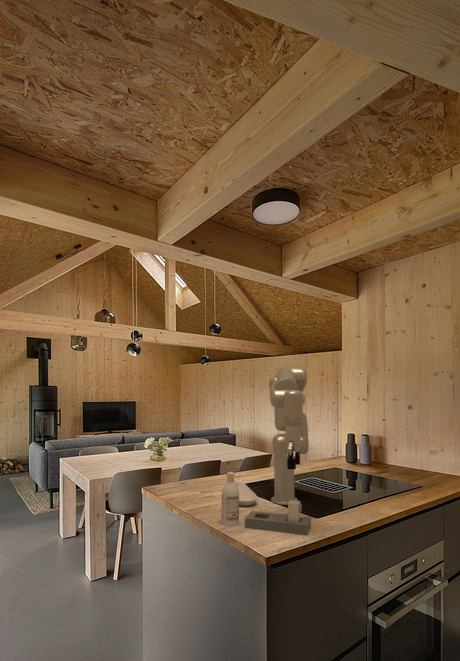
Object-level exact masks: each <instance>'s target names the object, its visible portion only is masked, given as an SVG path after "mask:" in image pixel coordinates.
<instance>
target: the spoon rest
mask: <svg viewBox="0 0 460 661" xmlns="http://www.w3.org/2000/svg"><path fill="white" fill-rule="evenodd" d="M236 486H237V488H238V491H239V507H240V506H241V507H250V506H253V505H254V504H255V503H256V502H257V500H258V496H257V494H256V493H255V492H254V491H253V490H252V489H251V488H250V487H249V486H248V485H247V484H246V483H245V482H241V483H239V482H237V483H236Z"/></svg>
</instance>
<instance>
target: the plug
mask: <svg viewBox="0 0 460 661" xmlns="http://www.w3.org/2000/svg"><path fill="white" fill-rule="evenodd" d="M302 509H303V508H302V503H301V501H300V500H298V501H293V500H290V501H289V502H288V505H287V510H288V513H287V515H288V521H290V522H299V523H300V522H301V516H302V514H301V513H302V511H303V510H302Z"/></svg>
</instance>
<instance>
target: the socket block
mask: <svg viewBox="0 0 460 661" xmlns="http://www.w3.org/2000/svg"><path fill="white" fill-rule="evenodd" d="M311 519H312V517H310V516H302V515H301V522H300V523H299V522H290V521H288V514H283V513H273V512H265V511H255V510H251V511H250V512H249V513H248V514H247V515H246V517H245V518H244V529H251V530H259V531H266V532H267V531H268V532H276V533H283V534H291V535H300V536H308V534H309V532H310V530H311V527H312V524H311V522H312V520H311Z"/></svg>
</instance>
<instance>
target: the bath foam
mask: <svg viewBox="0 0 460 661" xmlns="http://www.w3.org/2000/svg"><path fill="white" fill-rule="evenodd" d="M236 485H237V483H235V472H232V471H228V472H227V473H226V483H225V484H224V486H223V488H222V490H221V525H223V526H225V527H236V526H238V525H239V524H240V505H239V491H238V488H237V486H236Z"/></svg>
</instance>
